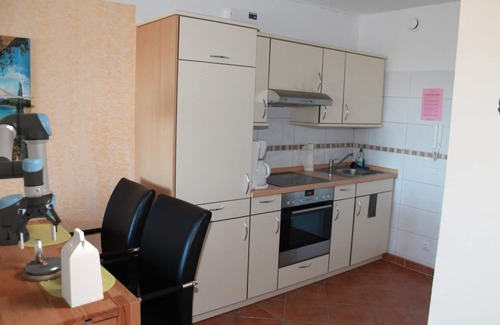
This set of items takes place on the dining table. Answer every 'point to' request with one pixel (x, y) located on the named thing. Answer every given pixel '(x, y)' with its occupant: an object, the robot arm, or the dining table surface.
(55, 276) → the wheel base
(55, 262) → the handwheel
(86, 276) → the milk
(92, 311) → the dining table surface
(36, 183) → the robot arm
